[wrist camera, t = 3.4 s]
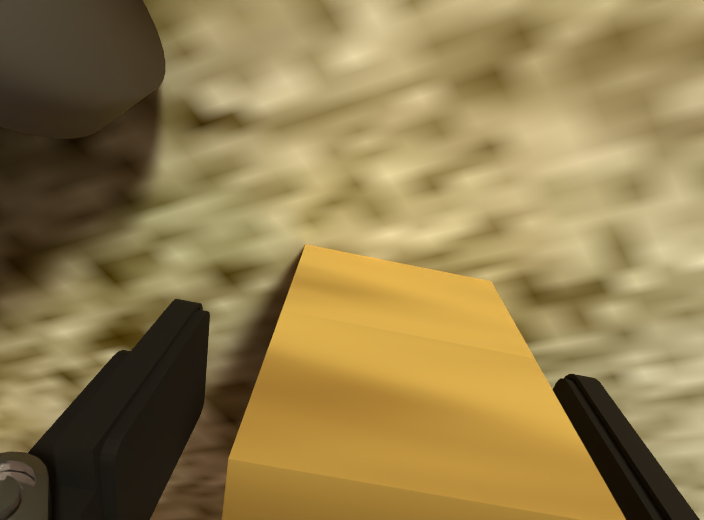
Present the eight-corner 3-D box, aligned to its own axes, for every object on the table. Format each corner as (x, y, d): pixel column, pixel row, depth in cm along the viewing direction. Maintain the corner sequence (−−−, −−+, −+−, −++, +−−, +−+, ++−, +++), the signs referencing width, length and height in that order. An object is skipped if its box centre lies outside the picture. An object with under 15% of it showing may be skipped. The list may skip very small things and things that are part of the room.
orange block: (423, 453, 13) (464, 747, 7) (275, 427, 12) (201, 709, 7) (490, 279, 10) (631, 528, 5) (305, 243, 10) (228, 459, 4)
